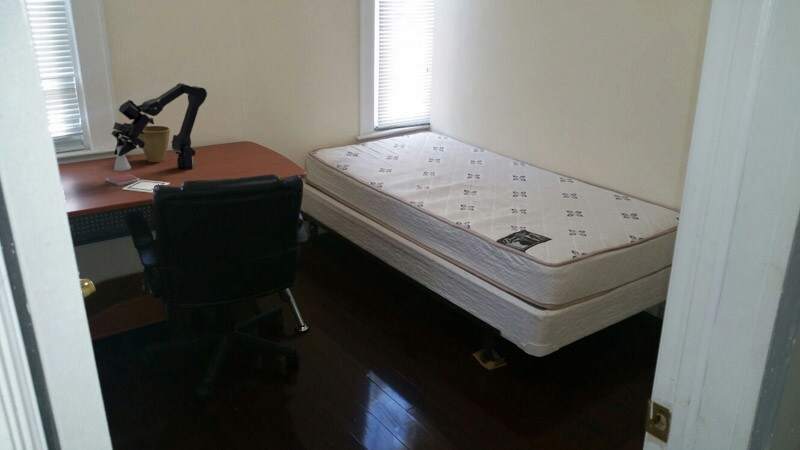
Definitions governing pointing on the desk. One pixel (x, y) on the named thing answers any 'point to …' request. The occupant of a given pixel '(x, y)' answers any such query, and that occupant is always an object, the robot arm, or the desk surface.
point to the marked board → (144, 186)
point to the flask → (121, 161)
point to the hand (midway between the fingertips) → (117, 155)
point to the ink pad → (122, 179)
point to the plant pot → (155, 142)
